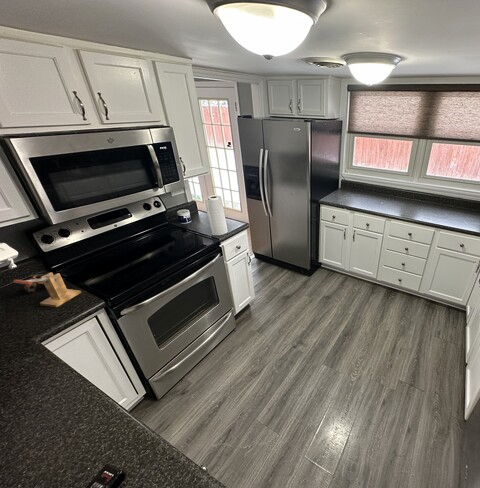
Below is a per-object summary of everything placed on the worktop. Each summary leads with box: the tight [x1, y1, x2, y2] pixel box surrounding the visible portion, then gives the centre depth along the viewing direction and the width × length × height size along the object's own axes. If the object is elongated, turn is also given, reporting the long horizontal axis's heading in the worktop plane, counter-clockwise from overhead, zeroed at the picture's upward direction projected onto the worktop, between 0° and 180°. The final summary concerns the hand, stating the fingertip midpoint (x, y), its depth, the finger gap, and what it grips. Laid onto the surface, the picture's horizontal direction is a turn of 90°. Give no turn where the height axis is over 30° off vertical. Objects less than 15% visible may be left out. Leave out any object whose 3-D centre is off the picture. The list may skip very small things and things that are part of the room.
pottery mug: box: [23, 273, 45, 293], centre depth 136 cm, size 12×10×8 cm
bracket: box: [39, 272, 82, 308], centre depth 128 cm, size 12×9×14 cm
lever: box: [12, 274, 54, 285], centre depth 121 cm, size 13×8×2 cm, turn 172°
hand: (1, 273), depth 115 cm, fingers open, 8 cm apart
